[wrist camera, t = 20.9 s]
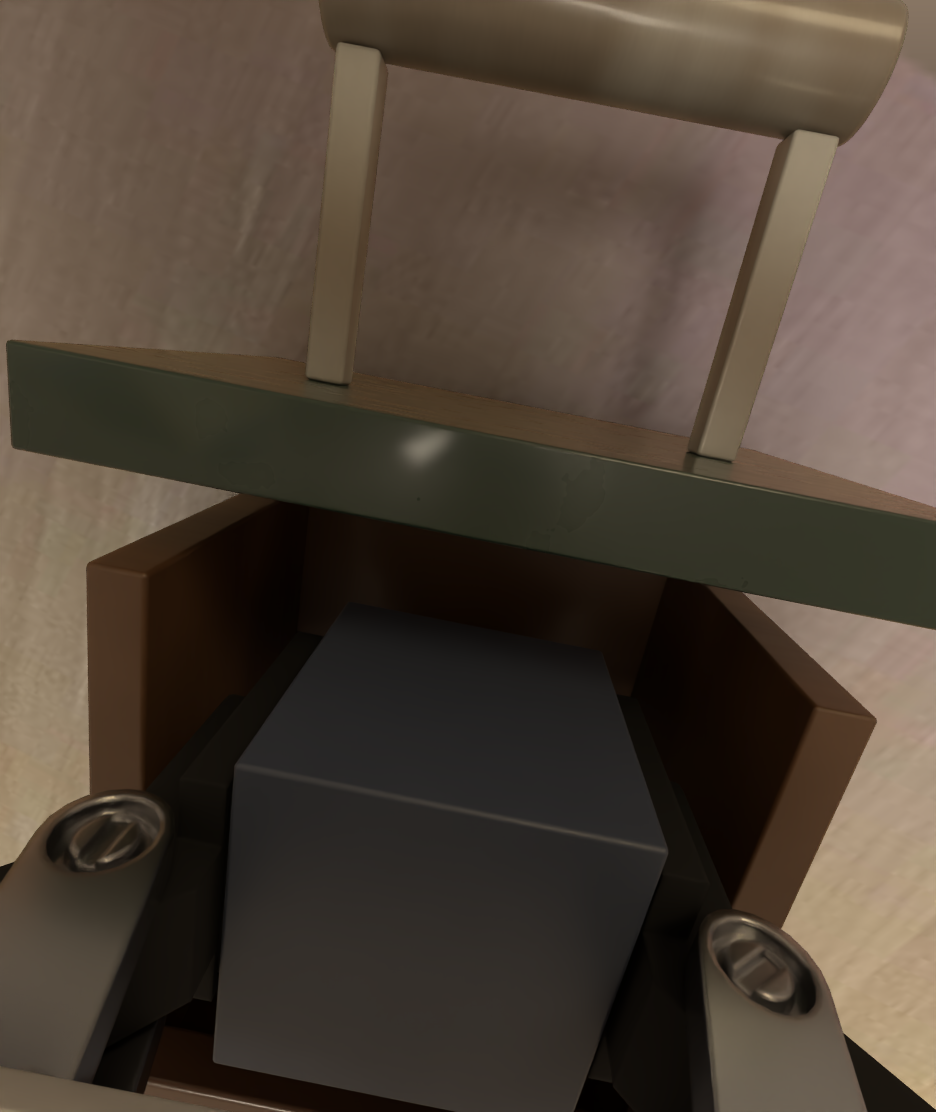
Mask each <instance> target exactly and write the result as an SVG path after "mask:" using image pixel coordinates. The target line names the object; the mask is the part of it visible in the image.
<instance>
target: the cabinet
mask: <svg viewBox="0 0 936 1112" xmlns="http://www.w3.org/2000/svg"><path fill="white" fill-rule="evenodd" d="M213 1049H214V1035H213V1034H208V1033H203V1032H198V1031H193V1030H189V1029H184V1028H179V1027H174V1026H169V1025H165V1026H164V1029H163V1032H162V1036H161V1039H160V1042H159V1046H158V1049H157V1052H156V1056H155V1059H154V1062H153V1066H152V1069H151V1072H150V1076H149V1079H148V1082H147V1086H146V1089H145V1093H144V1095H149V1096H154V1097H159V1098H164V1099H169V1100H174V1101H179V1102H184V1103H190V1104H195V1105H200V1106H205V1107H210V1108H215V1109H220V1110H225V1111H230V1112H455V1111H450V1110H445V1109H440V1108H435V1107H430V1106H425V1105H420V1104H415V1103H410V1102H405V1101H401V1100H396V1099H391V1098H386V1097H381V1096H376V1095H371V1094H366V1093H361V1092H356V1091H351V1090H346V1089H341V1088H336V1087H331V1086H326V1085H322V1084H317V1083H312V1082H307V1081H302V1080H297V1079H292V1078H287V1077H282V1076H277V1075H272V1074H267V1073H262V1072H257V1071H252V1070H247V1069H243V1068H238V1067H233V1066H228V1065H223V1064H218V1063H215V1062H214V1061H213ZM574 1112H591V1111H587V1110H582V1109H577V1108H575V1110H574Z"/></svg>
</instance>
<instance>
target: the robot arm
mask: <svg viewBox="0 0 936 1112" xmlns="http://www.w3.org/2000/svg"><path fill="white" fill-rule="evenodd" d="M323 637H324V636H321V635H316V634H311V633H306V632H300V631H299V632H298V633H297V634H296V635H295V636H294V637H293V638H292V640H291V641H290V642H289V643H288V645H287V646H286V647H285V648H284V650H283V651H282V652H281V653H280V655H279V656H278V657H277V658H276V660H275V661H274V662H273V663H272V665H271V666H270V667H269V668H268V669H267V671H266V672H265V673H264V674H263V676H262V677H261V678H260V679H259V681H258V682H257V683H256V684H255V686H254V687H253V688H252V689H251V691H250V692H249V693H248V694H247V696H241V695H236V694H232V695H229V696H227V697H226V698H225V699H224V700H223V701H222V702H221V704H220V705H219V706H218V707H217V708H216V709H215V710H214V712H213V713H212V714H211V715H210V716H209V717H208V719H207V720H206V721H205V722H204V723H203V724H202V726H201V727H200V728H199V729H198V730H197V731H196V732H195V734H194V735H193V736H192V737H191V738H190V739H189V741H188V742H187V743H186V744H185V745H184V746H183V747H182V749H181V750H180V751H179V752H178V753H177V754H176V756H175V757H174V758H173V759H172V760H171V761H170V763H169V764H168V765H167V766H166V767H165V768H164V769H163V771H162V772H161V773H160V774H159V775H158V776H157V778H156V779H155V780H154V781H153V782H152V783H151V784H150V786H149V787H148V788H147V789H146V790H145V791H141V790H134V789H117V790H107V791H103V792H99V793H95V794H91V795H87V796H85V797H82V798H80V799H78V800H76V801H73V802H71V803H69V804H67V805H65V806H64V807H62V808H61V809H59V810H58V811H56V812H55V813H53V814H52V815H51V816H49V817H48V818H47V819H46V821H45V822H44V823H43V824H42V825H41V826H40V827H39V828H38V829H37V830H36V832H35V833H34V835H33V836H32V838H31V839H30V840H29V842H28V843H27V845H26V846H25V848H24V849H23V851H22V852H21V854H20V855H19V857H18V858H17V859H16V861H15V862H13V863H10V864H7V865H4V866H1V867H0V1112H230V1111H225V1110H220V1109H215V1108H210V1107H205V1106H200V1105H195V1104H190V1103H184V1102H179V1101H174V1100H169V1099H164V1098H159V1097H154V1096H149V1095H144V1093H145V1089H146V1086H147V1082H148V1079H149V1076H150V1072H151V1069H152V1066H153V1062H154V1059H155V1056H156V1052H157V1049H158V1046H159V1042H160V1039H161V1036H162V1032H163V1029H164V1026H165V1022H166V1015H167V1014H169V1013H171V1012H172V1011H174V1010H176V1009H178V1008H180V1007H181V1006H183V1005H185V1004H187V1003H189V1002H190V1001H191V1000H192V998H195V999H200V1000H205V1001H210V1002H211V1001H212V999H213V997H214V995H215V993H216V991H217V989H218V981H219V968H220V954H221V941H222V927H223V914H224V900H225V887H226V873H227V860H228V846H229V833H230V819H231V806H232V792H233V779H234V766H235V764H236V763H237V761H238V760H239V758H240V757H241V755H242V754H243V752H244V751H245V750H246V748H247V747H248V745H249V744H250V742H251V741H252V739H253V738H254V737H255V735H256V734H257V732H258V731H259V729H260V728H261V727H262V725H263V724H264V722H265V721H266V719H267V718H268V716H269V715H270V714H271V712H272V711H273V709H274V708H275V706H276V705H277V703H278V702H279V701H280V699H281V698H282V696H283V695H284V693H285V692H286V690H287V689H288V688H289V686H290V685H291V683H292V682H293V680H294V679H295V678H296V676H297V675H298V673H299V672H300V670H301V669H302V667H303V666H304V665H305V663H306V662H307V660H308V659H309V657H310V656H311V654H312V653H313V652H314V650H315V649H316V647H317V646H318V644H319V643H320V641H321V640H322V639H323ZM616 695H617V698H618V701H619V704H620V707H621V710H622V713H623V716H624V719H625V722H626V725H627V728H628V731H629V734H630V737H631V740H632V743H633V746H634V749H635V752H636V755H637V758H638V761H639V764H640V767H641V770H642V773H643V776H644V779H645V782H646V785H647V788H648V791H649V794H650V797H651V800H652V803H653V806H654V809H655V812H656V815H657V818H658V821H659V824H660V827H661V830H662V833H663V836H664V839H665V842H666V845H667V848H668V856H667V859H666V861H665V864H664V867H663V869H662V872H661V875H660V878H659V880H658V883H657V886H656V889H655V891H654V894H653V897H652V900H651V902H650V905H649V908H648V910H647V913H646V916H645V919H644V921H643V924H642V927H641V930H640V932H639V935H638V938H637V941H636V943H635V946H634V949H633V951H632V954H631V957H630V960H629V962H628V965H627V968H626V971H625V973H624V976H623V979H622V981H621V984H620V987H619V990H618V992H617V995H616V998H615V1001H614V1003H613V1006H612V1009H611V1012H610V1014H609V1017H608V1020H607V1022H606V1025H605V1028H604V1031H603V1033H602V1036H601V1039H600V1042H599V1044H598V1047H597V1050H596V1052H595V1055H594V1058H593V1061H592V1063H591V1066H590V1069H589V1072H588V1078H591V1079H596V1080H601V1081H606V1082H611V1083H612V1084H613V1087H614V1089H615V1090H616V1091H617V1092H618V1093H619V1094H620V1096H621V1097H622V1098H623V1099H624V1100H625V1102H626V1103H627V1104H628V1109H627V1112H936V1110H935V1109H934V1108H933V1107H932V1106H930V1105H929V1104H928V1103H927V1102H926V1101H924V1100H923V1099H922V1098H921V1097H920V1096H918V1095H917V1094H916V1093H915V1092H914V1091H912V1090H911V1089H910V1088H909V1087H908V1086H906V1085H905V1084H904V1083H903V1082H902V1081H900V1080H899V1079H898V1078H897V1077H896V1076H894V1075H893V1074H892V1073H891V1072H889V1071H888V1070H887V1069H886V1068H885V1067H883V1066H882V1065H881V1064H880V1063H879V1062H877V1061H876V1060H875V1059H874V1058H873V1057H871V1056H870V1055H869V1054H868V1053H867V1052H865V1051H864V1050H863V1049H862V1048H861V1047H859V1046H858V1045H857V1044H856V1043H855V1042H853V1041H852V1040H851V1039H850V1038H849V1037H847V1036H846V1035H845V1034H844V1033H843V1031H842V1028H841V1025H840V1021H839V1018H838V1015H837V1012H836V1008H835V1005H834V1002H833V999H832V995H831V992H830V989H829V987H828V985H827V983H826V980H825V978H824V976H823V974H822V972H821V970H820V969H819V967H818V966H817V965H816V963H815V962H814V961H813V959H812V958H811V957H810V955H809V954H808V953H807V952H806V951H805V950H804V949H803V948H802V947H801V946H800V945H799V944H798V943H797V942H796V941H795V940H794V939H793V938H792V937H791V936H790V935H788V934H787V933H785V932H784V931H783V930H781V929H780V928H778V927H777V926H775V925H774V924H773V923H771V922H769V921H767V920H765V919H763V918H761V917H759V916H757V915H754V914H752V913H748V912H744V911H741V910H737V909H732V907H731V904H730V902H729V900H728V897H727V895H726V892H725V890H724V888H723V885H722V883H721V880H720V878H719V876H718V873H717V871H716V868H715V866H714V864H713V861H712V859H711V856H710V854H709V852H708V849H707V847H706V844H705V842H704V840H703V837H702V835H701V832H700V830H699V828H698V825H697V823H696V820H695V818H694V815H693V813H692V811H691V808H690V806H689V803H688V801H687V799H686V796H685V794H684V791H683V790H682V788H681V786H680V785H679V784H678V783H676V782H673V781H669V778H668V776H667V773H666V771H665V768H664V766H663V763H662V761H661V758H660V755H659V753H658V750H657V748H656V745H655V743H654V740H653V738H652V735H651V733H650V730H649V727H648V725H647V722H646V720H645V717H644V715H643V712H642V710H641V707H640V704H639V702H638V700H637V698H634V697H629V696H624V695H619V694H616Z"/></svg>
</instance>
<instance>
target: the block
mask: <svg viewBox="0 0 936 1112" xmlns="http://www.w3.org/2000/svg"><path fill="white" fill-rule="evenodd" d="M667 856H668V848H667V845H666V842H665V839H664V836H663V833H662V830H661V827H660V824H659V821H658V818H657V815H656V812H655V809H654V806H653V803H652V800H651V797H650V794H649V791H648V788H647V785H646V782H645V779H644V776H643V773H642V770H641V767H640V764H639V761H638V758H637V755H636V752H635V749H634V746H633V743H632V740H631V737H630V734H629V731H628V728H627V725H626V722H625V719H624V716H623V713H622V710H621V707H620V704H619V701H618V698H617V695H616V692H615V690H614V687H613V684H612V681H611V678H610V675H609V672H608V669H607V666H606V663H605V660H604V657H603V654H602V652H601V651H598V650H593V649H588V648H583V647H578V646H572V645H567V644H562V643H557V642H552V641H547V640H542V639H537V638H532V637H527V636H522V635H517V634H512V633H507V632H502V631H497V630H491V629H486V628H481V627H476V626H471V625H466V624H461V623H456V622H451V621H446V620H441V619H436V618H431V617H426V616H421V615H416V614H410V613H405V612H400V611H395V610H390V609H385V608H380V607H375V606H370V605H365V604H360V603H355V602H348V603H347V604H346V605H345V607H344V608H343V610H342V611H341V613H340V614H339V616H338V617H337V618H336V620H335V621H334V623H333V624H332V626H331V627H330V629H329V630H328V631H327V633H326V634H325V636H324V637H323V639H322V640H321V641H320V643H319V644H318V646H317V647H316V649H315V650H314V652H313V653H312V654H311V656H310V657H309V659H308V660H307V662H306V663H305V665H304V666H303V667H302V669H301V670H300V672H299V673H298V675H297V676H296V678H295V679H294V680H293V682H292V683H291V685H290V686H289V688H288V689H287V690H286V692H285V693H284V695H283V696H282V698H281V699H280V701H279V702H278V703H277V705H276V706H275V708H274V709H273V711H272V712H271V714H270V715H269V716H268V718H267V719H266V721H265V722H264V724H263V725H262V727H261V728H260V729H259V731H258V732H257V734H256V735H255V737H254V738H253V739H252V741H251V742H250V744H249V745H248V747H247V748H246V750H245V751H244V752H243V754H242V755H241V757H240V758H239V760H238V761H237V763H236V764H235V766H234V779H233V792H232V806H231V819H230V833H229V846H228V860H227V873H226V887H225V900H224V914H223V927H222V941H221V954H220V968H219V981H218V995H217V1008H216V1022H215V1035H214V1049H213V1061H214V1062H215V1063H218V1064H223V1065H228V1066H233V1067H238V1068H243V1069H247V1070H252V1071H257V1072H262V1073H267V1074H272V1075H277V1076H282V1077H287V1078H292V1079H297V1080H302V1081H307V1082H312V1083H317V1084H322V1085H326V1086H331V1087H336V1088H341V1089H346V1090H351V1091H356V1092H361V1093H366V1094H371V1095H376V1096H381V1097H386V1098H391V1099H396V1100H401V1101H405V1102H410V1103H415V1104H420V1105H425V1106H430V1107H435V1108H440V1109H445V1110H450V1111H455V1112H574V1110H575V1107H576V1104H577V1102H578V1099H579V1096H580V1093H581V1091H582V1088H583V1085H584V1083H585V1080H586V1077H587V1074H588V1072H589V1069H590V1066H591V1063H592V1061H593V1058H594V1055H595V1052H596V1050H597V1047H598V1044H599V1042H600V1039H601V1036H602V1033H603V1031H604V1028H605V1025H606V1022H607V1020H608V1017H609V1014H610V1012H611V1009H612V1006H613V1003H614V1001H615V998H616V995H617V992H618V990H619V987H620V984H621V981H622V979H623V976H624V973H625V971H626V968H627V965H628V962H629V960H630V957H631V954H632V951H633V949H634V946H635V943H636V941H637V938H638V935H639V932H640V930H641V927H642V924H643V921H644V919H645V916H646V913H647V910H648V908H649V905H650V902H651V900H652V897H653V894H654V891H655V889H656V886H657V883H658V880H659V878H660V875H661V872H662V869H663V867H664V864H665V861H666V859H667Z"/></svg>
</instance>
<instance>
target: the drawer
mask: <svg viewBox="0 0 936 1112" xmlns="http://www.w3.org/2000/svg"><path fill="white" fill-rule="evenodd" d="M319 8H320V14H321V20H322V25H323V29H324V33H325V36H326V39H327V42H328V44H329V46H330V47H331V49H332V50H333V51H335V52H336V56H335V66H334V77H333V87H332V98H331V108H330V119H329V129H328V140H327V150H326V161H325V171H324V182H323V192H322V203H321V213H320V224H319V234H318V245H317V255H316V266H315V276H314V286H313V297H312V307H311V318H310V328H309V339H308V349H307V360H306V363H304V362H299V361H294V360H289V359H284V358H279V357H267V356H251V355H236V354H221V353H206V352H190V351H175V350H160V349H144V348H129V347H114V346H99V345H83V344H68V343H53V342H38V341H22V340H9V341H7V343H6V351H7V370H8V389H9V407H10V426H11V445H12V447H13V448H15V449H18V450H23V451H28V452H33V453H38V454H43V455H49V456H54V457H59V458H64V459H69V460H74V461H79V462H84V463H89V464H94V465H99V466H104V467H110V468H115V469H120V470H125V471H130V472H135V473H140V474H145V475H150V476H155V477H160V478H165V479H170V480H176V481H181V482H186V483H191V484H196V485H201V486H206V487H211V488H216V489H221V490H226V491H231V492H237V493H241V494H239V495H236V496H234V497H232V498H230V499H227V500H225V501H223V502H221V503H219V504H216V505H214V506H212V507H210V508H208V509H205V510H203V511H201V512H199V513H197V514H194V515H192V516H190V517H188V518H186V519H183V520H181V521H179V522H177V523H174V524H172V525H170V526H168V527H166V528H163V529H161V530H159V531H157V532H155V533H152V534H150V535H148V536H146V537H144V538H141V539H139V540H137V541H135V542H133V543H130V544H128V545H126V546H124V547H121V548H119V549H117V550H115V551H113V552H110V553H108V554H106V555H104V556H102V557H99V558H97V559H95V560H93V561H91V562H89V563H88V564H87V567H86V575H87V638H88V701H89V765H90V795H91V794H95V793H99V792H103V791H107V790H117V789H134V790H141V791H145V790H146V789H147V788H148V787H149V786H150V784H151V783H152V782H153V781H154V780H155V779H156V778H157V776H158V775H159V774H160V773H161V772H162V771H163V769H164V768H165V767H166V766H167V765H168V764H169V763H170V761H171V760H172V759H173V758H174V757H175V756H176V754H177V753H178V752H179V751H180V750H181V749H182V747H183V746H184V745H185V744H186V743H187V742H188V741H189V739H190V738H191V737H192V736H193V735H194V734H195V732H196V731H197V730H198V729H199V728H200V727H201V726H202V724H203V723H204V722H205V721H206V720H207V719H208V717H209V716H210V715H211V714H212V713H213V712H214V710H215V709H216V708H217V707H218V706H219V705H220V704H221V702H222V701H223V700H224V699H225V698H226V697H227V696H229V695H232V694H236V695H241V696H247V694H248V693H249V692H250V691H251V689H252V688H253V687H254V686H255V684H256V683H257V682H258V681H259V679H260V678H261V677H262V676H263V674H264V673H265V672H266V671H267V669H268V668H269V667H270V666H271V665H272V663H273V662H274V661H275V660H276V658H277V657H278V656H279V655H280V653H281V652H282V651H283V650H284V648H285V647H286V646H287V645H288V643H289V642H290V641H291V640H292V638H293V637H294V636H295V635H296V634H297V633H298V632H299V631H300V632H306V633H311V634H316V635H321V636H325V634H326V633H327V631H328V630H329V629H330V627H331V626H332V624H333V623H334V621H335V620H336V618H337V617H338V616H339V614H340V613H341V611H342V610H343V608H344V607H345V605H346V604H347V603H348V602H355V603H360V604H365V605H370V606H375V607H380V608H385V609H390V610H395V611H400V612H405V613H410V614H416V615H421V616H426V617H431V618H436V619H441V620H446V621H451V622H456V623H461V624H466V625H471V626H476V627H481V628H486V629H491V630H497V631H502V632H507V633H512V634H517V635H522V636H527V637H532V638H537V639H542V640H547V641H552V642H557V643H562V644H567V645H572V646H578V647H583V648H588V649H593V650H598V651H601V652H602V654H603V657H604V660H605V663H606V666H607V669H608V672H609V675H610V678H611V681H612V684H613V687H614V690H615V692H616V694H619V695H624V696H629V697H634V698H637V700H638V702H639V704H640V707H641V710H642V712H643V715H644V717H645V720H646V722H647V725H648V727H649V730H650V733H651V735H652V738H653V740H654V743H655V745H656V748H657V750H658V753H659V755H660V758H661V761H662V763H663V766H664V768H665V771H666V773H667V776H668V778H669V781H673V782H676V783H678V784H679V785H680V786H681V788H682V790H683V791H684V794H685V796H686V799H687V801H688V803H689V806H690V808H691V811H692V813H693V815H694V818H695V820H696V823H697V825H698V828H699V830H700V832H701V835H702V837H703V840H704V842H705V844H706V847H707V849H708V852H709V854H710V856H711V859H712V861H713V864H714V866H715V868H716V871H717V873H718V876H719V878H720V880H721V883H722V885H723V888H724V890H725V892H726V895H727V897H728V900H729V902H730V904H731V907H732V909H737V910H741V911H744V912H748V913H752V914H754V915H757V916H759V917H761V918H763V919H765V920H767V921H769V922H771V923H773V924H774V925H775V926H777V927H778V928H780V929H781V928H782V926H783V924H784V922H785V920H786V917H787V915H788V913H789V911H790V909H791V907H792V904H793V902H794V900H795V898H796V896H797V894H798V891H799V889H800V887H801V885H802V883H803V881H804V878H805V876H806V874H807V872H808V870H809V868H810V866H811V863H812V861H813V859H814V857H815V855H816V853H817V850H818V848H819V846H820V844H821V842H822V840H823V837H824V835H825V833H826V831H827V829H828V827H829V824H830V822H831V820H832V818H833V816H834V814H835V811H836V809H837V807H838V805H839V803H840V801H841V799H842V796H843V794H844V792H845V790H846V788H847V786H848V783H849V781H850V779H851V777H852V775H853V773H854V770H855V768H856V766H857V764H858V762H859V760H860V757H861V755H862V753H863V751H864V749H865V747H866V744H867V742H868V740H869V738H870V736H871V734H872V731H873V729H874V727H875V725H876V723H877V720H876V718H875V717H874V716H873V715H872V714H871V713H870V712H869V711H868V710H867V709H866V708H865V707H863V706H862V705H861V704H860V703H859V702H858V701H857V700H856V699H855V698H854V697H853V696H852V695H851V694H850V693H849V692H848V691H846V690H845V689H844V688H843V687H842V686H841V685H840V684H839V683H838V682H837V681H836V680H835V679H834V678H833V677H832V676H831V675H829V674H828V673H827V672H826V671H825V670H824V669H823V668H822V667H821V666H820V665H819V664H818V663H817V662H816V661H815V660H814V659H812V658H811V657H810V656H809V655H808V654H807V653H806V652H805V651H804V650H803V649H802V648H801V647H800V646H799V645H798V644H797V643H795V642H794V641H793V640H792V639H791V638H790V637H789V636H788V635H787V634H786V633H785V632H784V631H783V630H782V629H781V628H780V627H778V626H777V625H776V624H775V623H774V622H773V621H772V620H771V619H770V618H769V617H768V616H767V615H766V614H765V613H764V612H763V611H761V610H760V609H759V608H758V607H757V606H756V605H755V604H754V603H753V602H752V601H751V600H750V599H749V598H748V597H747V596H746V595H744V594H743V593H742V592H745V593H750V594H755V595H760V596H765V597H770V598H775V599H780V600H785V601H790V602H795V603H800V604H805V605H811V606H816V607H821V608H826V609H831V610H836V611H841V612H846V613H851V614H856V615H861V616H866V617H872V618H877V619H882V620H887V621H892V622H897V623H902V624H907V625H912V626H917V627H922V628H927V629H932V630H936V508H935V507H932V506H929V505H926V504H922V503H919V502H916V501H913V500H910V499H907V498H903V497H900V496H897V495H894V494H891V493H888V492H885V491H881V490H878V489H875V488H872V487H869V486H866V485H862V484H859V483H856V482H853V481H850V480H847V479H843V478H840V477H837V476H834V475H831V474H828V473H825V472H821V471H818V470H815V469H812V468H809V467H806V466H802V465H799V464H796V463H793V462H790V461H787V460H784V459H780V458H777V457H774V456H771V455H768V454H765V453H761V452H758V451H755V450H750V449H745V448H740V444H741V441H742V438H743V435H744V432H745V429H746V426H747V423H748V420H749V417H750V413H751V410H752V407H753V404H754V401H755V398H756V395H757V392H758V389H759V386H760V383H761V380H762V377H763V373H764V370H765V367H766V364H767V361H768V358H769V355H770V352H771V349H772V346H773V343H774V340H775V337H776V333H777V330H778V327H779V324H780V321H781V318H782V315H783V312H784V309H785V306H786V303H787V300H788V297H789V293H790V290H791V287H792V284H793V281H794V278H795V275H796V272H797V269H798V266H799V263H800V260H801V257H802V253H803V250H804V247H805V244H806V241H807V238H808V235H809V232H810V229H811V226H812V223H813V220H814V217H815V213H816V210H817V207H818V204H819V201H820V198H821V195H822V192H823V189H824V186H825V183H826V180H827V177H828V173H829V170H830V167H831V164H832V161H833V158H834V155H835V152H836V149H837V147H839V146H841V145H843V144H845V143H846V142H847V141H849V140H850V139H851V138H852V137H853V136H854V134H855V133H856V132H857V131H858V130H859V129H860V127H861V126H862V125H863V123H864V122H865V121H866V119H867V118H868V116H869V115H870V113H871V112H872V110H873V108H874V107H875V105H876V103H877V102H878V100H879V98H880V96H881V95H882V93H883V91H884V89H885V87H886V85H887V83H888V81H889V79H890V77H891V74H892V72H893V70H894V67H895V65H896V62H897V60H898V57H899V54H900V52H901V49H902V45H903V42H904V39H905V35H906V30H907V24H908V9H907V6H906V5H905V4H904V3H903V1H901V0H319ZM386 64H390V65H396V66H401V67H406V68H411V69H417V70H422V71H427V72H432V73H437V74H443V75H448V76H453V77H458V78H464V79H469V80H474V81H479V82H485V83H490V84H495V85H500V86H505V87H511V88H516V89H521V90H526V91H532V92H537V93H542V94H547V95H552V96H558V97H563V98H568V99H573V100H579V101H584V102H589V103H594V104H600V105H605V106H610V107H615V108H620V109H626V110H631V111H636V112H641V113H647V114H652V115H657V116H662V117H667V118H673V119H678V120H683V121H688V122H694V123H699V124H704V125H709V126H715V127H720V128H725V129H730V130H735V131H741V132H746V133H751V134H756V135H762V136H767V137H772V138H777V139H782V140H783V141H782V142H781V143H779V145H778V146H777V148H776V151H775V154H774V158H773V161H772V164H771V168H770V171H769V174H768V178H767V181H766V184H765V188H764V191H763V195H762V198H761V201H760V205H759V208H758V211H757V215H756V218H755V221H754V225H753V228H752V231H751V235H750V238H749V242H748V245H747V248H746V252H745V255H744V258H743V262H742V265H741V268H740V272H739V275H738V278H737V282H736V285H735V289H734V292H733V295H732V299H731V302H730V305H729V309H728V312H727V315H726V319H725V322H724V325H723V329H722V332H721V336H720V339H719V342H718V346H717V349H716V352H715V356H714V359H713V362H712V366H711V369H710V373H709V376H708V379H707V383H706V386H705V389H704V393H703V396H702V399H701V403H700V406H699V409H698V413H697V416H696V420H695V423H694V426H693V430H692V433H691V436H690V438H689V437H684V436H679V435H673V434H668V433H663V432H658V431H653V430H648V429H643V428H637V427H632V426H627V425H622V424H617V423H612V422H607V421H602V420H596V419H591V418H586V417H581V416H576V415H571V414H566V413H561V412H555V411H550V410H545V409H540V408H535V407H530V406H525V405H520V404H514V403H509V402H504V401H499V400H494V399H489V398H484V397H479V396H473V395H468V394H463V393H458V392H453V391H448V390H443V389H438V388H432V387H427V386H422V385H417V384H412V383H407V382H402V381H397V380H391V379H386V378H381V377H376V376H371V375H366V374H361V373H356V372H353V366H354V357H355V349H356V341H357V332H358V324H359V315H360V307H361V299H362V290H363V282H364V273H365V265H366V257H367V248H368V240H369V231H370V223H371V215H372V206H373V198H374V189H375V181H376V173H377V164H378V156H379V147H380V139H381V131H382V122H383V114H384V105H385V97H386V89H387V80H388V70H387V67H386ZM217 995H218V989H217V991H216V993H215V995H214V997H213V999H212V1001H211V1002H210V1001H205V1000H200V999H195V998H192V1000H191V1001H190V1002H189V1003H187V1004H185V1005H183V1006H181V1007H180V1008H178V1009H176V1010H174V1011H172V1012H171V1013H169V1014H167V1015H166V1022H165V1025H169V1026H174V1027H179V1028H184V1029H189V1030H193V1031H198V1032H203V1033H208V1034H213V1035H215V1022H216V1008H217ZM575 1108H577V1109H582V1110H587V1111H591V1112H627V1109H628V1104H627V1103H626V1102H625V1100H624V1099H623V1098H622V1097H621V1096H620V1094H619V1093H618V1092H617V1091H616V1090H615V1089H614V1087H613V1084H612V1083H611V1082H606V1081H601V1080H596V1079H591V1078H588V1074H587V1077H586V1080H585V1083H584V1085H583V1088H582V1091H581V1093H580V1096H579V1099H578V1102H577V1104H576V1107H575Z"/></svg>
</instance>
